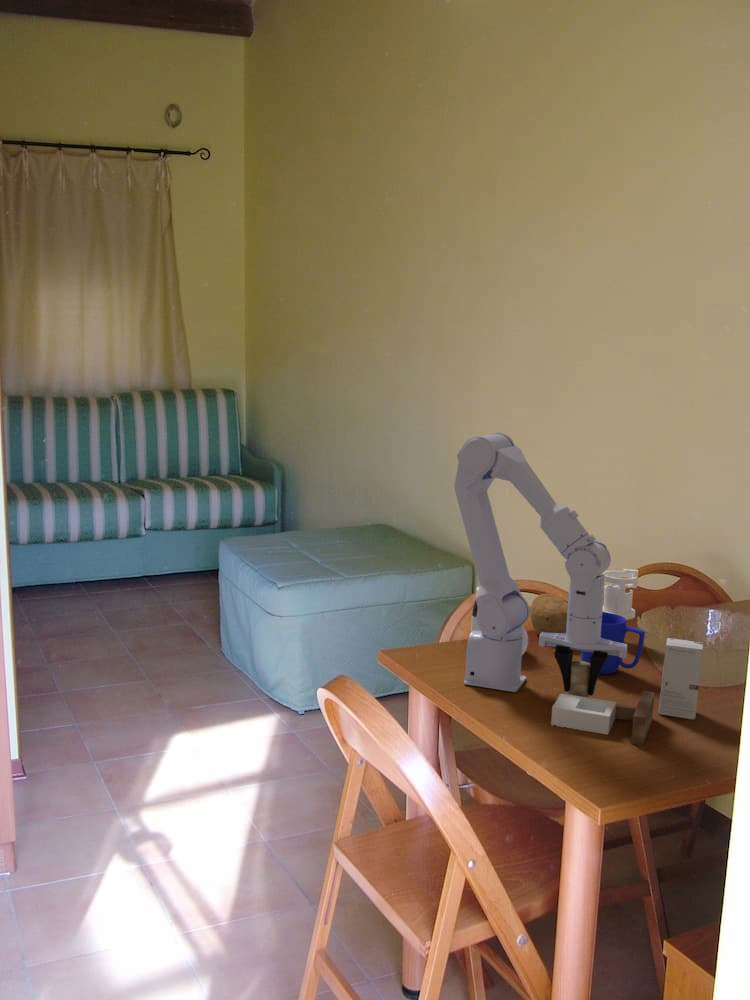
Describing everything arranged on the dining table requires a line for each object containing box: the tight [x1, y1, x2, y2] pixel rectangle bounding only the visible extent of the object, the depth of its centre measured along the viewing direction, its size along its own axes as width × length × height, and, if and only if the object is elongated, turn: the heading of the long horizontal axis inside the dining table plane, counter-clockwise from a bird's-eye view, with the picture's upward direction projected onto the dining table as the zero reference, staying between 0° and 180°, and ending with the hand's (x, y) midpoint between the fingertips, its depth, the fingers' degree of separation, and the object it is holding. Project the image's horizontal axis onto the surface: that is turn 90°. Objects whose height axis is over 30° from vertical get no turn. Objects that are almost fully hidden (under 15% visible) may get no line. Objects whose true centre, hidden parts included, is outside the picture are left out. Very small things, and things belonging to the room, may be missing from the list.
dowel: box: [568, 660, 590, 698], centre depth 177 cm, size 3×3×6 cm
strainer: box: [601, 568, 639, 621], centre depth 211 cm, size 7×7×15 cm
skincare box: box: [658, 637, 705, 720], centre depth 173 cm, size 6×4×12 cm
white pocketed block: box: [550, 692, 617, 735], centre depth 168 cm, size 9×7×3 cm
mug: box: [580, 612, 646, 675], centre depth 192 cm, size 8×12×10 cm
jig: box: [615, 690, 656, 747], centre depth 167 cm, size 15×12×4 cm
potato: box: [529, 593, 568, 634], centre depth 213 cm, size 10×14×8 cm
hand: (579, 691), depth 178 cm, fingers closed on dowel, 3 cm apart
